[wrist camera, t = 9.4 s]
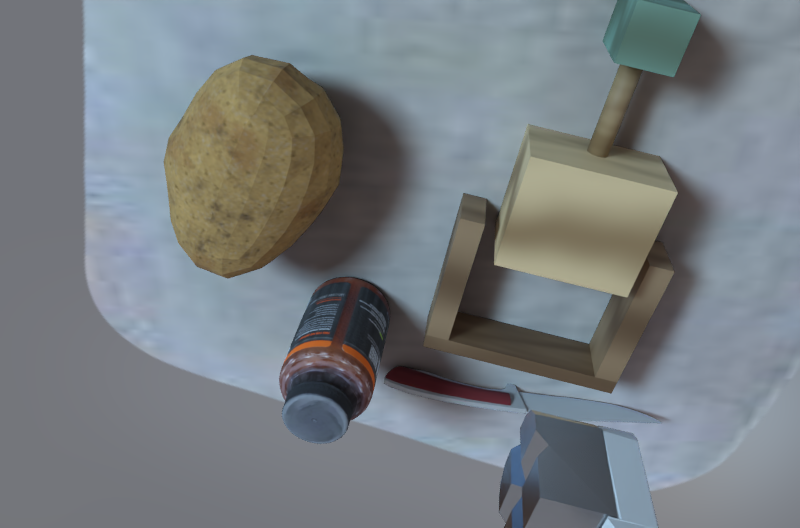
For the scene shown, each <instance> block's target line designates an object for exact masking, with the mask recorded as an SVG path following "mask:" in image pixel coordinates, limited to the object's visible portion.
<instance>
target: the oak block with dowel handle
mask: <svg viewBox="0 0 800 528" xmlns="http://www.w3.org/2000/svg"><path fill="white" fill-rule="evenodd" d="M700 16H701V14H700V13H698V12H697V11H696V10H695V9H693V8H692V7H691V6H690V5H688V4H687V3H686V2H685V1H684V0H617V3H616V6H615V9H614V11H613V14H612V17H611V20H610V22H609V25H608V28H607V31H606V33H605V36H604V39H603V43H604V44H605V46H606V48H607V50H608V52H609V54H610V56H611V58H612V60H613V62H614V63H617V64H620V66H619V68H618V71H617V74H616V76H615V79H614V81H613V84H612V87H611V89H610V92H609V94H608V97H607V100H606V102H605V105H604V107H603V110H602V113H601V115H600V118H599V120H598V123H597V126H596V128H595V131H594V133H593V136H592V139H587V138H583V137H579V136H575V135H570V134H566V133H562V132H558V131H554V130H550V129H546V128H542V127H538V126H534V125H530V124H528V125H527V128H526V131H525V134H524V138H523V141H522V144H521V147H520V150H519V153H518V156H517V159H516V162H515V165H514V168H513V172H512V175H511V178H510V181H509V184H508V187H507V190H506V193H505V196H504V199H503V202H502V206H501V209H500V212H499V215H498V218H497V221H496V224H495V252H494V265H497V266H501V267H505V268H509V269H513V270H517V271H521V272H525V273H529V274H533V275H537V276H541V277H546V278H550V279H554V280H558V281H562V282H566V283H570V284H574V285H578V286H582V287H586V288H590V289H594V290H598V291H602V292H606V293H611V294H615V295H619V296H623V297H628V295H629V293H630V291H631V289H632V287H633V284H634V282H635V280H636V278H637V276H638V274H639V272H640V270H641V268H642V266H643V264H644V262H645V260H646V258H647V256H648V254H649V251H650V249H651V247H652V245H653V243H654V241H655V239H656V237H657V235H658V233H659V231H660V229H661V227H662V225H663V223H664V221H665V218H666V216H667V214H668V212H669V210H670V208H671V206H672V204H673V202H674V200H675V198H676V196H677V194H678V192H677V190H676V188H675V186H674V184H673V182H672V180H671V178H670V176H669V174H668V172H667V170H666V168H665V166H664V164H663V162H662V160H661V158H660V156H656V155H652V154H648V153H644V152H640V151H636V150H632V149H628V148H624V147H619V146H615V145H613V143H614V140H615V138H616V135H617V133H618V130H619V128H620V125H621V123H622V120H623V118H624V115H625V113H626V111H627V108H628V106H629V103H630V101H631V98H632V96H633V93H634V91H635V88H636V86H637V83H638V81H639V79H640V76H641V74H642V71H643V70H645V71H650V72H654V73H658V74H662V75H666V76H670V77H674V76H675V74H676V71H677V69H678V67H679V64H680V62H681V60H682V57H683V55H684V53H685V51H686V48H687V46H688V44H689V41H690V39H691V37H692V34H693V32H694V30H695V28H696V25H697V23H698V21H699V18H700Z"/></svg>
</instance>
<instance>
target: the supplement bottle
mask: <svg viewBox="0 0 800 528" xmlns="http://www.w3.org/2000/svg"><path fill="white" fill-rule="evenodd" d="M389 320H390V311H389V306H388V303H387V301H386V299H385V297H384V296H383V295H382V293H381V292H380V291H379V290H378V289H377V288H375V287H374V286H373V285H371V284H369V283H368V282H365V281H363V280H360V279H356V278H352V277H339V278H335V279H331V280H329V281H326V282H325V283H323V284H322V285H320V286H319V287H318V288H317V289H316V290H315V292H314V293H313V295H312V297H311V299H310V301H309V303H308V306H307V308H306V311H305V313H304V315H303V318H302V320H301V322H300V325H299V327H298V329H297V332H296V334H295V337H294V339H293V341H292V344H291V346H290V349H289V351H288V354H287V356H286V358H285V361H284V364H283V366H282V369H281V372H280V378H279V385H280V389H281V393H282V395H283V398H284V400H285V404H284V407H283V410H282V418H283V421H284V424H285V425H286V427H287V428H288V429H289V430H290V432H292V434H294V435H295V436H297V437H298V438H301V439H302V440H305V441H308V442H312V443H317V444H322V443H330V442H333V441H336V440H338V439H339V438H341V437H342V436H343V435H344V434H345V433H346V431H347V429H348V426H349V422H350V420H353V419H355V418H356V417H358V416H359V415H360V414H361V413H362V412H364V411H365V409H366V408H367V407H368V405H369V403H370V400H371V398H372V395H373V391H374V387H375V383H376V378H377V374H378V369H379V365H380V361H381V357H382V352H383V348H384V344H385V339H386V335H387V331H388V327H389Z"/></svg>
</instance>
